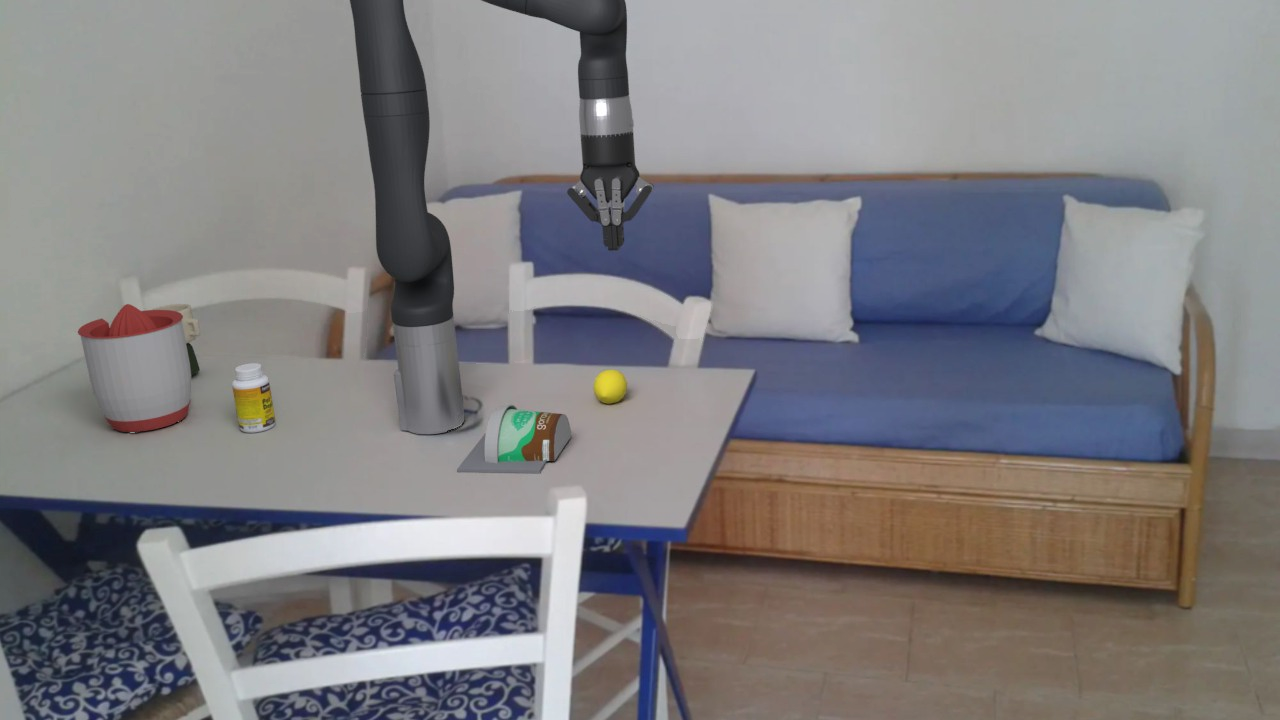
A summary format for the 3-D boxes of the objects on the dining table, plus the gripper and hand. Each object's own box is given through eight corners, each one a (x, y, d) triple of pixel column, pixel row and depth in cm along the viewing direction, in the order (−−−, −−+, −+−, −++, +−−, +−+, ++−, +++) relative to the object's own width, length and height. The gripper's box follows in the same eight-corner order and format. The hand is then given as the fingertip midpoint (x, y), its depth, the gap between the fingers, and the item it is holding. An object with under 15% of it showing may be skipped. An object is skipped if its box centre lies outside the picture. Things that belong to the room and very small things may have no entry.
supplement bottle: (270, 433, 179) (260, 371, 176) (235, 435, 179) (224, 373, 176) (280, 420, 184) (270, 360, 181) (245, 422, 184) (235, 362, 181)
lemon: (622, 412, 181) (618, 381, 178) (589, 410, 182) (586, 380, 180) (633, 391, 187) (630, 362, 184) (602, 390, 188) (598, 361, 186)
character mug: (145, 381, 208) (131, 313, 204) (170, 369, 215) (157, 302, 211) (195, 384, 205) (182, 314, 201) (219, 371, 212) (207, 304, 208)
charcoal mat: (457, 471, 160) (456, 469, 160) (490, 429, 175) (489, 427, 175) (539, 473, 158) (539, 470, 158) (566, 430, 173) (565, 428, 173)
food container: (548, 423, 157) (479, 422, 159) (551, 464, 159) (483, 463, 161) (570, 393, 169) (506, 392, 171) (573, 432, 171) (510, 430, 173)
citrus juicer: (182, 395, 199) (161, 285, 193) (212, 421, 186) (191, 303, 179) (87, 418, 190) (62, 303, 184) (111, 447, 177) (85, 323, 171)
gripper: (554, 134, 159) (564, 256, 164) (648, 131, 156) (655, 254, 162) (567, 128, 166) (576, 244, 171) (656, 124, 163) (663, 243, 169)
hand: (614, 249), depth 166 cm, fingers closed
